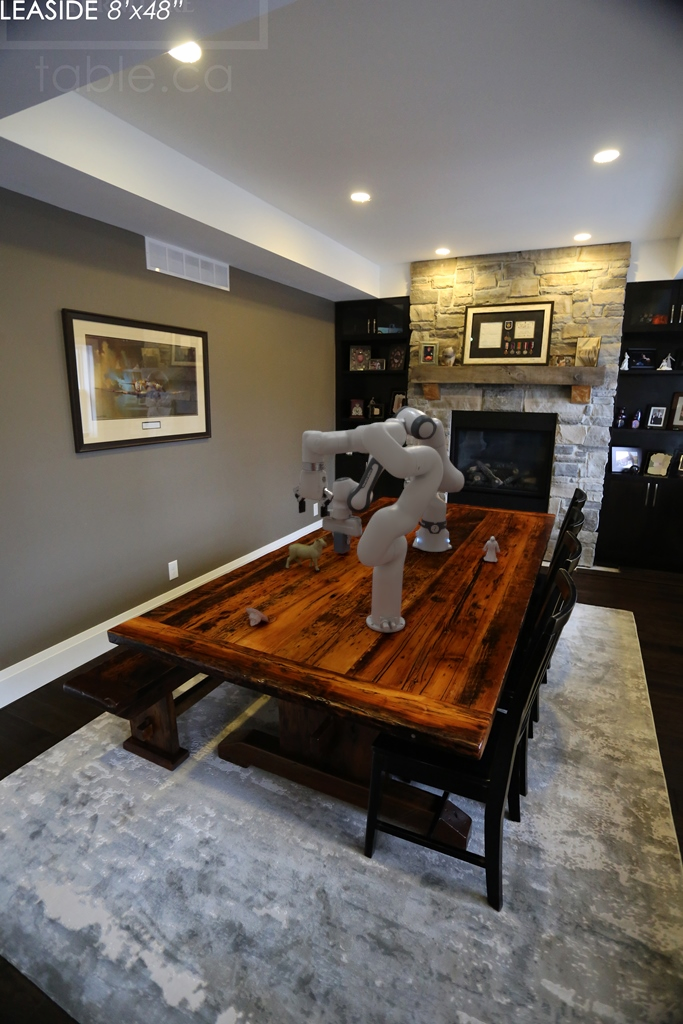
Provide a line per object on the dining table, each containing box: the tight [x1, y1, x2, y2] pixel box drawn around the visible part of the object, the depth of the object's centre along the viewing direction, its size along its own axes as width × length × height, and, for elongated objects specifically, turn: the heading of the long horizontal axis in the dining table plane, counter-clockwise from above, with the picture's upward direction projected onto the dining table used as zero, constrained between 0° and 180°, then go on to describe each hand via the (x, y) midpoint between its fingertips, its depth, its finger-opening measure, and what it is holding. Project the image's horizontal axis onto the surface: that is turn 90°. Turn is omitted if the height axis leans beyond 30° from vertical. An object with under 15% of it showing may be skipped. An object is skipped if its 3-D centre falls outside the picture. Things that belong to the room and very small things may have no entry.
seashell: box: [245, 607, 269, 627], centre depth 160 cm, size 8×5×8 cm
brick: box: [333, 531, 351, 555], centre depth 229 cm, size 5×6×9 cm
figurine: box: [482, 535, 501, 563], centre depth 223 cm, size 8×8×12 cm
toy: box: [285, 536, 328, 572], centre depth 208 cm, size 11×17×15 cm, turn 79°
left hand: (312, 514), depth 177 cm, fingers open, 9 cm apart
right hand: (341, 542), depth 229 cm, fingers closed on brick, 5 cm apart
